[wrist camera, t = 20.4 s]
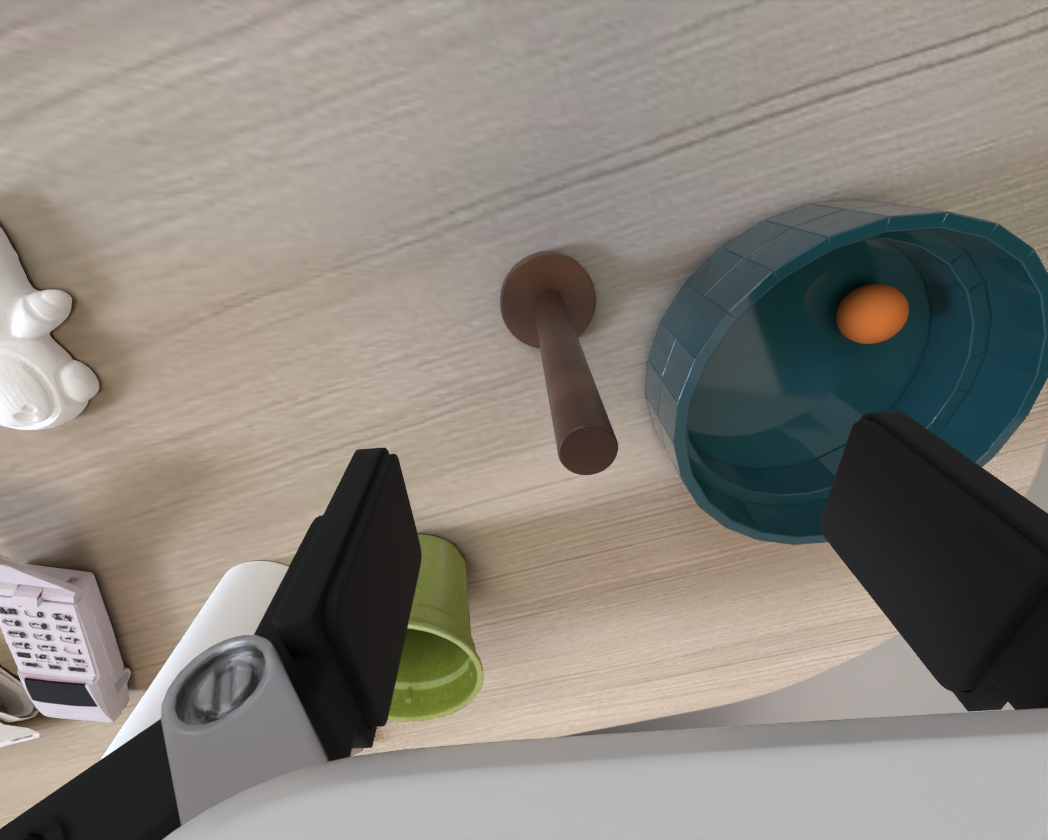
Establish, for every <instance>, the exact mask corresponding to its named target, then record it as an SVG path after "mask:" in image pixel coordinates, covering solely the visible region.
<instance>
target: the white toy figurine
mask: <svg viewBox="0 0 1048 840" xmlns="http://www.w3.org/2000/svg"><path fill="white" fill-rule="evenodd" d="M71 308H72V298H71V296H70V295H68V294H67V293H66V292H64V291H61V290H44V291H38V290H36V289H34V288H33V287H32V286H31V284H30V283H29V281H28V279H27V276H26V274H25V272H24V270H23V268H22V266H21V264H20V261H19V257H18V255H17V253H16V251H15V250H14V249H13V247H12V245H11V243H10V241H9V240H8V238H7V236H6V234H5V233H4V231H3V230H2V228H1V227H0V425H1V426H5V427H10V428H15V429H22V430H42V429H49V428H53V427H56V426H59V425H62V424H64V423H67V422H69V421H70V420H72V419H74V418H75V417H77V416H78V415H79V414H80V413H81V412H82V411H83V410H84V409H85V408H86V406H87V404H88V400H89V399H91V398H92V397H94V396H95V395H96V394H97V392H98V391H99V381H98V379H97V377H96V375H95V374H94V373H93V371H92V370H91V369H90V368H89V367H87V366H86V365H85V364H83V363H81V362H79V361H76V360H73V359H72V357H71V356H70V355H69V354H68V353H67V352H66V351H65V350H64V349H63V348H62V347H61V346H60V345H59V344H57V343H56V342H55V341H54V340H53V338H52V337H51V335H50V332H51V331H52V330H54V329H55V328H56V327H58V326H59V325H60V324H61V323H62V322H63V321H65V320H66V319H67V317H68V316H69V314H70V312H71Z"/></svg>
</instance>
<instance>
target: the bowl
mask: <svg viewBox="0 0 1048 840" xmlns="http://www.w3.org/2000/svg"><path fill="white" fill-rule="evenodd" d="M869 284H885V285H889V286H892V287H894V288H896V289H897V290H899V291H900V292H901V293H902V294H903V295H904V296H905V298H906V300H907V302H908V306H909V314H908V318H907V321H906V323H905V324H904V326H903V327H902V329H901V330H900V331H899V332H898V333H897V334H895V335H894V336H893V337H891V338H889V339H887V340H885V341H882V342H879V343H874V344H862V343H857V342H854V341H852V340H850V339H848V338H846V337H845V336H844V335H843V334H842V333H841V332H840V330H839V328H838V326H837V323H836V313H837V309H838V307H839V305H840V303H841V301H842V300H843V299H844V298H845V297H846V296H847V295H848V294H849V293H850V292H852V291H853V290H855V289H857V288H859V287H862V286H865V285H869ZM1047 378H1048V273H1047V271H1046V269H1045V267H1044V265H1043V264H1042V262H1041V260H1040V258H1039V257H1038V255H1037V253H1036V251H1035V250H1034V249H1033V248H1032V247H1031V246H1029V245H1028V244H1026V243H1025V242H1024V241H1022V240H1021V239H1019V238H1018V237H1016V236H1015V235H1014V234H1012V233H1011V232H1009V231H1008V230H1007V229H1005V228H1004V227H1002V226H1001V225H1000V224H997V223H995V222H991V221H987V220H982V219H978V218H974V217H969V216H965V215H961V214H957V213H952V212H948V211H940V210H933V209H925V208H918V207H910V206H903V205H895V204H888V203H880V202H873V201H865V200H845V201H832V202H820V203H812V204H808V205H805V206H802V207H799V208H796V209H794V210H791V211H788V212H785V213H782V214H779V215H777V216H774V217H771V218H768V219H765V220H764V221H762V222H760V223H758V224H757V225H755V226H754V227H752V228H750V229H749V230H747V231H746V232H744V233H743V234H741V235H739V236H738V237H736V238H735V239H733V240H732V241H730V242H728V243H727V244H725V245H724V246H722V247H721V248H719V249H718V250H717V251H716V252H715V253H714V254H713V255H712V256H711V257H710V258H709V259H708V260H707V261H706V262H705V263H704V264H703V265H702V266H701V267H700V268H699V269H698V270H697V271H696V272H695V273H694V274H693V275H692V276H691V277H690V278H689V279H688V280H687V281H686V283H685V284H684V285H683V287H682V288H681V290H680V291H679V293H678V295H677V296H676V298H675V299H674V301H673V302H672V304H671V305H670V307H669V309H668V310H667V312H666V313H665V315H664V316H663V318H662V320H661V322H660V325H659V328H658V331H657V334H656V337H655V340H654V343H653V346H652V349H651V351H650V354H649V357H648V363H647V379H646V399H647V403H648V407H649V411H650V416H651V420H652V424H653V427H654V429H655V431H656V433H657V435H658V436H659V438H660V440H661V442H662V444H663V446H664V448H665V450H666V452H667V453H668V455H669V457H670V459H671V461H672V463H673V465H674V466H675V468H676V470H677V472H678V474H679V476H680V478H681V480H682V481H683V483H684V484H685V486H686V487H687V489H688V491H689V492H690V494H691V495H692V497H693V498H694V500H695V502H696V503H697V505H698V506H699V507H700V508H701V509H702V510H704V511H705V512H706V513H708V514H709V515H710V516H711V517H713V518H714V519H715V520H716V521H718V522H719V523H720V524H722V525H723V526H724V527H726V528H728V529H731V530H733V531H736V532H738V533H741V534H744V535H746V536H749V537H751V538H754V539H756V540H761V541H768V542H776V543H784V544H792V545H794V544H795V545H798V544H811V543H824V542H828V541H827V540H826V538H825V537H824V535H823V533H822V531H821V525H820V522H821V517H822V514H823V511H824V508H825V505H826V502H827V499H828V496H829V493H830V490H831V488H832V485H833V482H834V479H835V476H836V473H837V470H838V467H839V464H840V461H841V458H842V455H843V452H844V449H845V446H846V443H847V440H848V437H849V434H850V431H851V428H852V426H853V424H854V423H855V422H857V421H859V420H860V418H861V417H862V416H863V415H865V414H867V413H877V412H891V411H900V412H902V413H904V414H906V415H908V416H909V417H910V418H912V419H913V420H915V421H916V422H918V423H919V424H920V425H922V426H923V427H925V428H926V429H928V430H929V431H930V432H932V433H933V434H935V435H936V436H938V437H939V438H940V439H942V440H943V441H945V442H946V443H948V444H949V445H950V446H952V447H953V448H955V449H956V450H958V451H959V452H960V453H962V454H963V455H965V456H966V457H968V458H969V459H970V460H972V461H973V462H975V463H976V464H978V465H979V466H980V467H983V466H984V465H985V464H986V463H987V462H988V461H990V460H991V459H992V458H993V457H994V456H995V454H997V453H998V452H999V450H1000V449H1001V448H1002V447H1003V446H1004V444H1005V443H1006V442H1007V441H1008V439H1009V438H1010V437H1011V436H1012V434H1013V433H1014V432H1015V431H1016V430H1017V428H1018V427H1019V426H1020V425H1021V423H1022V422H1023V421H1024V420H1025V418H1026V416H1028V414H1029V412H1030V410H1031V409H1032V407H1033V405H1034V403H1035V401H1036V399H1037V397H1038V395H1039V393H1040V391H1041V389H1042V388H1043V386H1044V384H1045V382H1046V380H1047Z"/></svg>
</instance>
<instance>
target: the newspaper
mask: <svg viewBox="0 0 1048 840" xmlns="http://www.w3.org/2000/svg"><path fill="white" fill-rule="evenodd" d="M38 712H39V710H38V709H37V708H36V707H35V705H34V704H33V703H32V701H31V700H30V698H29V696H28V695H27V693H26V691H25V688H24V686H23V684H22V683H21V682H20V681H18V680H17V679H15V678H14V677H13V676H11V675H10V674H9V673H7V672H6V671H4V670H3V669H2V668H0V747H3V746H7V745H11V744H15V743H19V742H23V741H27V740H31V739H35V738H39V737H41V736H40V733H39V732H37V731H35V730H33V729H31V728H27V727H20V726H12V725H9V724H12V723H15V722H19V721H22V720H25V719H29V718H32V717H35V716H36V715H37V714H38Z"/></svg>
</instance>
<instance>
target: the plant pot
mask: <svg viewBox="0 0 1048 840" xmlns="http://www.w3.org/2000/svg"><path fill="white" fill-rule="evenodd" d="M418 538H419V542H420V546H421V554H422V558H421V566H420V571H419V576H418V580H417V585H416V590H415V594H414V599H413V604H412V609H411V613H410V618H409V623H408V627H407V632H406V637H405V641H404V646H403V651H402V655H401V660H400V665H399V669H398V674H397V679H396V683H395V688H394V693H393V697H392V702H391V707H390V711H389V716H388V720H391V721H406V722H407V721H423V720H430V719H434V718H440V717H443V716H446V715H449V714H452V713H454V712H456V711H458V710H460V709H462V708H463V707H465V706H466V705H468V704H469V703H470V702H471V701H473V700H474V699H475V697H476V696H477V694H478V693H479V691H480V689H481V687H482V684H483V667H482V663H481V660H480V658H479V656H478V655H477V653H476V651H475V645H474V642H473V639H472V637H471V628H470V616H469V603H468V589H467V574H466V563H465V560H464V559H463V557H462V556H461V554H460V553H459V551H458V550H457V548H456V547H455V546H454V545H453V544H452V543H450V542H448V541H447V540H444V539H442V538H439V537H436V536H432V535H424V534H418Z"/></svg>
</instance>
